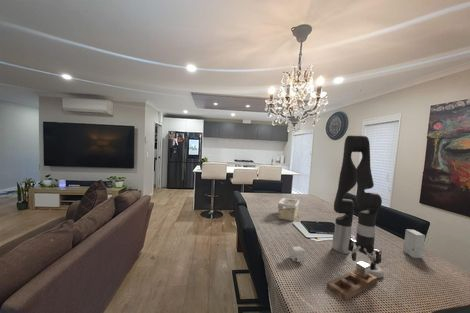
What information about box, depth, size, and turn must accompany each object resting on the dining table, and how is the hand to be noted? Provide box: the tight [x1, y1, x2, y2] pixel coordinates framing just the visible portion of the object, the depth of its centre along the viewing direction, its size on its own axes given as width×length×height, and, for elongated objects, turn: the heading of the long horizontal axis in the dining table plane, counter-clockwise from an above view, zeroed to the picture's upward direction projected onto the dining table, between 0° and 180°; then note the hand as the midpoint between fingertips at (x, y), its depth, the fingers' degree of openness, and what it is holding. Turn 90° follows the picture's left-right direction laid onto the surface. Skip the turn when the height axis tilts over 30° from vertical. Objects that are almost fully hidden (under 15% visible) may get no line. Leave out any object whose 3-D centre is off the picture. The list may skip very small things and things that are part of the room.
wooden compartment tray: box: [326, 268, 378, 302], centre depth 98 cm, size 9×26×3 cm, turn 121°
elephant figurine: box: [287, 243, 307, 263], centre depth 118 cm, size 10×12×9 cm
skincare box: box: [402, 228, 426, 259], centre depth 129 cm, size 8×6×15 cm
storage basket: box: [277, 197, 300, 222], centre depth 191 cm, size 24×16×15 cm
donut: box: [366, 262, 385, 279], centre depth 109 cm, size 10×4×10 cm
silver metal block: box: [355, 260, 370, 280], centre depth 101 cm, size 4×4×8 cm
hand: (362, 264), depth 101 cm, fingers open, 8 cm apart
